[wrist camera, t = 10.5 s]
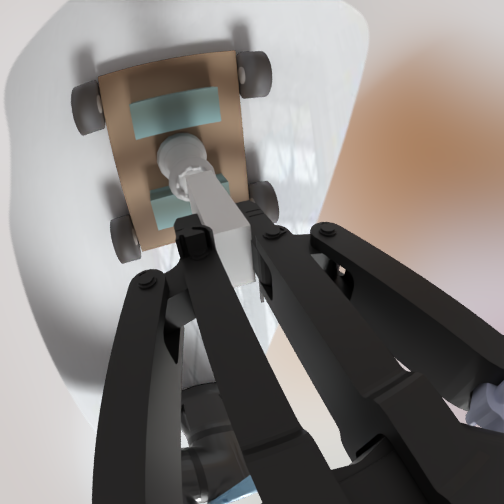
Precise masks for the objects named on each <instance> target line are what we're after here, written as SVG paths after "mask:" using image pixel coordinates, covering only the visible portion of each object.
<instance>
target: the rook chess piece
mask: <svg viewBox="0 0 504 504" xmlns="http://www.w3.org/2000/svg"><path fill="white" fill-rule="evenodd" d="M206 159H207V153H206V150H205V147H204V145H203V143H202V142H201V141H200V140H199V139H198V138H197V137H196V136H194V135H192V134H189V133H177V134H174V135H172V136H169V137H168V138H167V139H166V140H165V141H164V142H162V143H161V145H160V147H159V150H158V152H157V163H158V166H159V168H160V171H161V173H162V174H163V175H164V176H165V177H167V178H168V179H169V187H170V189H171V192H172V193H173V194H174V195H175V196H176V197H177V198H178V199H181V200H184V201H190V200H189V195H188V190H187V185H186V180H185V176H187V175H191V174H195V173H200V172H204V171H209V170H211V171H212V172H213V173H214V175H215V176H216V174H215V171H214V168H213V166H212V165H211V164H210V163H209V162H208V161H207V160H206Z"/></svg>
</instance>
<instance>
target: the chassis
mask: <svg viewBox="0 0 504 504" xmlns="http://www.w3.org/2000/svg"><path fill="white" fill-rule="evenodd" d="M98 82H99V85H98V83H97V81H96V80H94V81H91V82H88V83H85V84H82V85H80V86H77V87H74V88H73V90H72V94H71V105H72V112H73V117H74V121H75V124H76V126H77V129H78V131H79V132H80V134H81V135H87V134H89V133H92V132H95V131H98V130H101V129H104V128H105V121H106V125H107V130H108V135H109V139H110V143H111V148H112V152H113V156H114V160H115V164H116V168H117V171H118V175H119V179H120V182H121V186H122V189H123V193H124V196H125V200H126V203H127V206H128V210H129V213H130V215H126V216H123V217H119V218H116V219H113V220H111V222H110V232H111V238H112V243H113V246H114V249H115V252H116V255H117V257H118V259H119V261H120V262H121V263H122V264H123V263H127V262H130V261H134V260H137V259H140V258H141V250H140V246H141V249H142V252H143V251H146V250H150V249H153V248H157V247H161V246H164V245H168V244H171V243H175V242H176V241H175V239H176V235H175V230H174V223H175V221H176V219H177V218H180V217H184V216H188V215H192V210H191V205H190V201H184V200H181V199H178V198H177V197H176V196H175V195H174V194H173V193H172V192H171V189H170V187H169V179H168V178H167V177H165V176H164V175H163V174H162V173H161V171H160V168H159V166H158V163H157V152H158V150H159V147H160V145H161V143H162V142H164V141H165V140H166V139H167V138H168V137H169V136H172V135H174V134H177V133H189V134H192V135H194V136H196V137H197V138H198V139H199V140H200V141H201V142H202V143H203V145H204V147H205V150H206V153H207V159H206V160H207V161H208V162H209V163H210V164H211V165H212V166H213V168H214V171H215V174H216V177H217V179H218V180H219V182H220V183H221V184H222V186H223V187H224V189H225V190H226V191H227V193H228V194H229V196H230V197H231V198H232V200H233V201H234V203H238V202H242V201H246V200H250V201H252V202H254V203H256V204H257V205H258V206H259V207H260V208H261V209H262V211H263V212H264V214H266V215H267V216H268V218H269V219H270V220H271V221H272V222H273V223H276V222H277V221H278V218H279V206H278V200H277V197H276V194H275V191H274V189H273V187H272V185H271V184H270V183H269V182H268V181H264V182H259V183H254V184H249V185H248V182H247V171H246V160H245V149H244V138H243V127H242V117H241V106H240V95H241V97H242V98H244V99H246V98H256V97H265V96H267V95H268V94H269V92H270V89H271V85H272V69H271V64H270V61H269V59H268V57H267V55H266V54H265V53H264V52H262V51H255V52H240V53H238V55H237V57H236V52H235V51H222V52H212V53H203V54H196V55H189V56H182V57H176V58H171V59H165V60H160V61H155V62H151V63H146V64H142V65H138V66H134V67H130V68H126V69H122V70H119V71H115V72H112V73H109V74H105V75H102V76H99V77H98ZM239 94H240V95H239ZM139 243H140V244H139Z"/></svg>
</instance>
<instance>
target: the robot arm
mask: <svg viewBox="0 0 504 504" xmlns="http://www.w3.org/2000/svg"><path fill="white" fill-rule="evenodd" d="M185 180H186V185H187V190H188V195H189V200H190V205H191V210H192V215H188V216H184V217H180V218H177V219H176V221H175V223H174V230H175V235H176V239H175V241H176V244H177V248H178V252H179V255H180V260H179V262H178V264H177V265H176V266H175V267H174V268H173V269H171V270H170V271H168V272H166V273H163V272H162V271H159V270H157V269H149V270H145V271H142V272H141V273H139V274H137V275H136V276H135V277H134V278H133V279H132V280H131V282H130V284H129V287H128V291H127V294H126V298H125V301H124V305H123V308H122V312H121V315H120V319H119V323H118V327H117V331H116V335H115V339H114V343H113V347H112V351H111V356H110V360H109V365H108V370H107V374H106V380H105V385H104V390H103V396H102V402H101V408H100V414H99V421H98V429H97V437H96V447H95V456H94V469H93V487H92V504H199V503H205V502H208V503H207V504H228V503H231V502H234V501H236V500H239V499H241V498H244V497H247V496H249V495H252V494H254V493H256V492H258V493H259V496H260V498H261V500H262V504H504V335H502V334H500V333H499V332H498V331H497V330H495V329H494V328H492V326H490V325H489V324H488V323H486V322H485V321H484V320H482V319H481V318H480V317H478V316H477V315H476V314H474V313H473V312H472V311H470V310H469V309H468V308H466V307H465V306H464V305H462V304H461V303H459V302H458V301H457V300H455V299H454V298H452V297H451V296H450V295H448V294H446V293H445V292H444V291H442V290H441V289H439V288H438V287H436V286H435V285H434V284H432V283H431V282H429V281H428V280H426V279H425V278H423V277H422V276H420V275H419V274H417V273H416V272H414V271H413V270H411V269H409V268H408V267H406V266H405V265H403V264H402V263H400V262H399V261H397V260H395V259H394V258H392V257H391V256H389V255H388V254H386V253H384V252H383V251H381V250H380V249H378V248H376V247H375V246H373V245H371V244H370V243H368V242H366V241H364V240H363V239H361V238H360V237H358V236H356V235H355V234H353V233H351V232H349V231H348V230H346V229H344V228H343V227H341V226H339V225H337V224H334V223H330V222H320V223H317V224H315V225H313V226H312V227H311V230H310V234H303V235H293V234H292V233H291V232H290V231H289V230H288V229H287V228H285V227H283V226H279V225H274V223H273V222H272V221H271V220H270V219H269V218H268V216H267V215H266V214H264V212H263V211H262V209H261V208H260V207H259V206H258V205H257V204H256V203H254V202H252V201H250V200H246V201H242V202H238V203H234V201H233V200H232V198H231V197H230V196H229V194H228V193H227V191H226V190H225V189H224V187H223V186H222V184H221V183H220V182H219V180H218V179H217V177H216V176H215V175H214V173H213V172H212V171H211V170H209V171H204V172H200V173H195V174H191V175H187V176H185ZM340 266H341V267H343V268H344V269H346V271H345V274H343V273H341V272H340V271H339V267H340ZM255 273H256V275H257V276H258V278H259V287H260V299H261V303H262V302H264V297H265V299H266V301H267V303H268V304H269V306H270V308H271V310H272V312H273V313H274V315H275V317H276V319H277V320H278V322H279V324H280V326H281V328H282V329H283V331H284V333H285V334H286V337H287V338H288V340H289V342H290V344H291V345H292V347H293V349H294V351H295V352H296V354H297V356H298V358H299V360H300V361H301V363H302V365H303V367H304V368H305V370H306V372H307V374H308V375H309V377H310V379H311V381H312V383H313V384H314V386H315V388H316V390H317V391H318V393H319V394H320V396H321V398H322V400H323V402H324V403H325V405H326V407H327V409H328V410H329V412H330V414H331V416H332V417H333V419H334V421H335V423H336V424H337V426H338V428H339V431H340V436H341V441H342V444H343V446H344V448H345V450H346V452H347V454H348V456H349V457H350V459H351V461H352V463H351V464H350V465H349V466H345V467H341V468H337V469H333V470H331V469H330V468H329V466H328V464H327V462H326V460H325V459H324V457H323V455H322V453H321V451H320V450H319V447H318V446H317V444H316V442H315V441H314V439H313V438H312V436H311V435H310V434H309V433H308V432H307V431H306V430H304V429H303V428H302V426H301V425H300V423H299V422H298V420H297V418H296V416H295V414H294V412H293V410H292V408H291V406H290V404H289V402H288V400H287V398H286V396H285V394H284V392H283V390H282V388H281V386H280V384H279V382H278V380H277V378H276V376H275V374H274V372H273V370H272V368H271V366H270V364H269V363H268V360H267V358H266V356H265V354H264V352H263V350H262V348H261V346H260V344H259V341H258V339H257V337H256V335H255V333H254V331H253V329H252V327H251V325H250V323H249V320H248V318H247V316H246V314H245V312H244V310H243V308H242V305H241V303H240V301H239V299H238V297H237V295H236V292H235V290H234V288H235V287H239V286H242V285H246V284H249V283H252V282H256V280H255ZM195 318H196V319H197V323H198V326H199V330H200V333H201V336H202V340H203V343H204V346H205V349H206V353H207V356H208V359H209V362H210V365H211V368H212V371H213V374H214V378H215V381H216V383H210V384H203V385H199V386H195V387H192V388H189V389H187V390H184V391H182V392H181V383H182V359H183V340H184V325H185V324H187V323H188V322H190V321H192V320H193V319H195ZM394 357H395V358H396V359H397V360H398V361H400V362H401V363H402V364H403V365H404V366H406V367H407V368H408V369H409V370H410V371H411V372H408V371H406V370H404V369H403V368H402V367H401V366H400V365H399V363H398V362H397V360H396V359H395V358H394ZM442 397H443V398H444V399H445V400H447V401H448V402H450V403H452V404H453V405H455V406H457V407H458V408H461V409H463V410H465V411H468V412H467V414H466V422H467V424H464V423H460V422H459V421H458V419H457V418H456V416H455V415H454V413H453V412H452V411H451V409H450V408H449V407H448V405H447V404H446V403H445V401H444V400H443V398H442ZM476 424H477V425H479V426H480V427H481V428H480V427H475V425H476ZM181 430H182V432H183V433H184V435H185V436H186V438H187V440H188V444H189V447H187V448H181Z"/></svg>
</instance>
